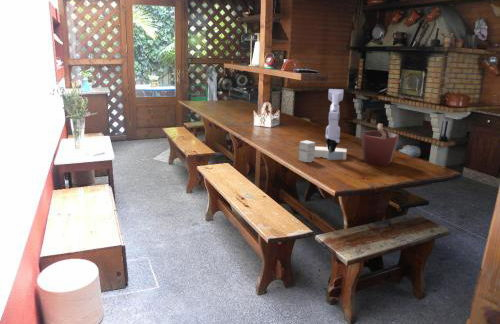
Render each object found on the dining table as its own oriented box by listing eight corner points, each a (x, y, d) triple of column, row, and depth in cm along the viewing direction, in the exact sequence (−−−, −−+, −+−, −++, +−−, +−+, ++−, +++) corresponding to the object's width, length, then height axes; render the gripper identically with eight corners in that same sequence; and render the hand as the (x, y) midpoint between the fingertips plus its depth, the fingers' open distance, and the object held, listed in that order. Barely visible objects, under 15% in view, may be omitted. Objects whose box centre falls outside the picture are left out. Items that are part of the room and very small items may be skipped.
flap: (326, 159, 267) (327, 145, 264) (341, 158, 269) (342, 145, 267) (328, 160, 264) (329, 146, 262) (343, 159, 267) (344, 146, 265)
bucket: (389, 169, 249) (394, 129, 242) (353, 164, 259) (357, 125, 252) (397, 160, 269) (401, 123, 262) (363, 155, 279) (367, 119, 272)
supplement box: (298, 160, 264) (299, 141, 260) (306, 158, 269) (307, 140, 265) (306, 163, 258) (307, 143, 255) (314, 161, 263) (315, 142, 260)
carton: (310, 153, 283) (310, 146, 282) (345, 155, 278) (346, 148, 277) (309, 156, 274) (309, 149, 272) (345, 159, 269) (346, 152, 267)
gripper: (321, 128, 265) (320, 148, 269) (333, 132, 252) (331, 154, 256) (331, 127, 268) (329, 148, 271) (343, 132, 255) (341, 153, 258)
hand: (331, 150), depth 264 cm, fingers open, 3 cm apart
